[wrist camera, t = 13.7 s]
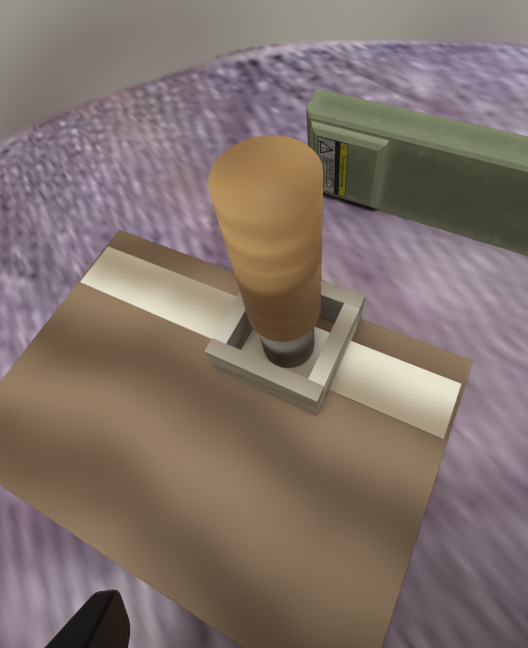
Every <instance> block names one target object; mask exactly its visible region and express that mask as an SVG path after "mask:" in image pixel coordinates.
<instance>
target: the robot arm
mask: <svg viewBox="0 0 528 648" xmlns="http://www.w3.org/2000/svg"><path fill="white" fill-rule="evenodd" d="M129 638H130V622H129V618H128V615H127V612H126V609H125V606H124V603H123V600H122V597H121V595H120V593H119V592H118V591H117V590H107V591H99V592H96V593H95V594H93V595H92V596H91V597H90V598H89V599H88V600H87V602H86V603H85V604H84V605H83V606H82V607H81V608H80V609H79V610H78V611H77V613H76V614H75V615H74V616H73V617H72V618H71V619H70V620H69V621H68V622H67V624H66V625H65V626H64V627H63V628H62V629H61V630H60V631H59V632H58V634H57V635H56V636H55V637H54V638H53V639H52V640H51V641H50V642H49V643H48V645H47V646H46V647H45V648H128V644H129Z"/></svg>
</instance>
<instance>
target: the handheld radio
mask: <svg viewBox="0 0 528 648" xmlns="http://www.w3.org/2000/svg"><path fill="white" fill-rule="evenodd" d="M306 112H307V134H308V146H309V147H310V148H311V149H312V150H314V152H315V153H316V154H317V155H318V157H319V159H320V160H321V163H322V166H323V193H325V194H328V195H332V196H335V197H338V198H341V199H345V200H348V201H351V202H355V203H358V204H361V205H364V206H368V207H371V208H374V209H377V210H381V211H384V212H387V213H390V214H394V215H397V216H400V217H403V218H407V219H410V220H413V221H417V222H420V223H423V224H426V225H430V226H433V227H436V228H439V229H443V230H446V231H449V232H452V233H456V234H459V235H462V236H465V237H469V238H472V239H475V240H478V241H482V242H485V243H488V244H492V245H495V246H498V247H501V248H505V249H508V250H511V251H514V252H518V253H521V254H524V255H527V256H528V137H527V136H523V135H518V134H514V133H510V132H505V131H501V130H496V129H492V128H488V127H483V126H479V125H474V124H470V123H466V122H461V121H457V120H452V119H448V118H444V117H439V116H435V115H430V114H426V113H422V112H417V111H413V110H408V109H404V108H400V107H395V106H391V105H386V104H382V103H378V102H373V101H369V100H364V99H360V98H356V97H351V96H347V95H342V94H338V93H334V92H329V91H325V90H317V91H316V93H315V94H314V96H313V98H312V99H311V101H310V103H309V104H308V106H307V110H306Z"/></svg>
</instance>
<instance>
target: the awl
mask: <svg viewBox="0 0 528 648" xmlns="http://www.w3.org/2000/svg"><path fill="white" fill-rule="evenodd" d="M208 186H209V191H210V195H211V198H212V201H213V205H214V208H215V211H216V214H217V218H218V221H219V224H220V228H221V231H222V234H223V237H224V241H225V244H226V247H227V251H228V254H229V257H230V260H231V264H232V267H233V270H234V274H235V277H236V280H237V284H238V287H239V290H240V293H241V297H242V300H243V303H244V307H245V310H246V313H247V316H248V320H249V322H250V324H251V326H252V327H253V329H254V330H255V331H256V332H257V333H258V334H259V335H260V339H261V343H262V346H263V350H264V353H265V355H266V357H267V358H268V360H269V361H270V362H271V363H273V364H274V365H276V366H279V367H282V368H294V367H298V366H300V365H302V364H304V363H305V362H306V361H307V360H308V359H309V358H310V357H311V355H312V353H313V350H314V326H315V325H316V323H317V321H318V319H319V316H320V311H321V264H322V213H323V166H322V163H321V160H320V159H319V157H318V155H317V154H316V153H315V152H314V150H312V149H311V148H310V147H309V146H307V145H306V144H304V143H302V142H300V141H298V140H296V139H293V138H289V137H284V136H260V137H255V138H251V139H248V140H245V141H242V142H240V143H238V144H236V145H234V146H232V147H231V148H229V149H228V150H226V151H225V152H224V153H223V154H222V155H221V156H220V157H219V158H218V159H217V160H216V162H215V163H214V165H213V167H212V169H211V171H210V174H209V179H208Z"/></svg>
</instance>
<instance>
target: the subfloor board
mask: <svg viewBox="0 0 528 648" xmlns="http://www.w3.org/2000/svg"><path fill="white" fill-rule="evenodd" d="M364 301H365V295H362V294H359V293H356V292H353V291H350V290H348V289H345V288H342V287H339V286H336V285H333V284H331V283H328V282H325V281H322V280H321V311H320V316H319V319H318V321H317V323H316V325H315V326H314V350H313V353H312V355H311V357H310V358H309V359H308V360H307V361H306V362H305V363H304V364H302V365H300V366H298V367H294V368H282V367H279V366H276V365H274V364H273V363H271V362H270V361H269V360H268V358H267V357H266V355H265V353H264V350H263V346H262V343H261V339H260V335H259V334H258V333H257V332H256V331H255V330H254V329H253V327H252V326H251V324H250V322H249V320H248V316H247V313H246V310H245V307H244V303H243V300H242V297H241V293H240V290H239V287H238V284H237V280H236V277H235V274H234V272H232V271H230V270H227V269H224V268H222V267H219V266H216V265H213V264H211V263H208V262H205V261H203V260H200V259H197V258H195V257H192V256H189V255H186V254H184V253H181V252H178V251H176V250H173V249H170V248H168V247H165V246H162V245H159V244H157V243H154V242H151V241H149V240H146V239H143V238H141V237H138V236H135V235H132V234H130V233H127V232H124V231H122V230H119V231H118V232H117V233H116V235H115V236H114V237H113V239H112V240H111V241H110V242H109V244H108V245H107V246H106V247H105V249H104V250H103V251H102V253H101V254H100V255H99V256H98V258H97V259H96V260H95V261H94V263H93V264H92V265H91V267H90V268H89V269H88V270H87V272H86V273H85V274H84V276H83V277H82V278H81V279H80V281H79V282H78V283H77V284H76V286H75V287H74V288H73V290H72V291H71V292H70V293H69V295H68V296H67V297H66V298H65V300H64V301H63V302H62V304H61V305H60V306H59V307H58V309H57V310H56V311H55V313H54V314H53V315H52V316H51V318H50V319H49V320H48V321H47V323H46V324H45V325H44V327H43V328H42V329H41V330H40V332H39V333H38V334H37V335H36V337H35V338H34V339H33V341H32V342H31V343H30V344H29V346H28V347H27V348H26V350H25V351H24V352H23V353H22V355H21V356H20V357H19V358H18V360H17V361H16V362H15V364H14V365H13V366H12V367H11V369H10V370H9V371H8V372H7V374H6V375H5V376H4V378H3V379H2V380H1V381H0V486H2V487H3V488H5V489H6V490H8V491H9V492H11V493H12V494H14V495H15V496H17V497H18V498H20V499H21V500H23V501H24V502H26V503H27V504H29V505H30V506H32V507H33V508H35V509H36V510H38V511H39V512H41V513H42V514H44V515H45V516H47V517H48V518H50V519H51V520H53V521H54V522H56V523H57V524H59V525H60V526H62V527H63V528H65V529H66V530H68V531H69V532H71V533H72V534H74V535H75V536H77V537H78V538H80V539H81V540H83V541H84V542H86V543H87V544H89V545H90V546H92V547H93V548H95V549H96V550H98V551H99V552H101V553H102V554H104V555H105V556H107V557H108V558H109V559H111V560H112V561H114V562H115V563H117V564H118V565H120V566H121V567H123V568H124V569H126V570H127V571H129V572H130V573H132V574H133V575H135V576H136V577H138V578H139V579H141V580H142V581H144V582H145V583H147V584H148V585H150V586H151V587H153V588H154V589H156V590H157V591H159V592H160V593H162V594H163V595H165V596H166V597H168V598H169V599H171V600H172V601H174V602H175V603H177V604H178V605H180V606H181V607H183V608H184V609H186V610H187V611H189V612H190V613H192V614H193V615H195V616H196V617H198V618H199V619H201V620H202V621H204V622H205V623H207V624H208V625H210V626H211V627H213V628H214V629H216V630H217V631H219V632H220V633H222V634H223V635H225V636H226V637H228V638H229V639H231V640H232V641H234V642H235V643H236V644H238V645H239V646H241V647H242V648H382V645H383V642H384V639H385V636H386V632H387V629H388V626H389V623H390V620H391V617H392V614H393V610H394V607H395V604H396V601H397V598H398V595H399V592H400V588H401V585H402V582H403V579H404V576H405V573H406V570H407V566H408V563H409V560H410V557H411V554H412V551H413V548H414V544H415V541H416V538H417V535H418V532H419V529H420V526H421V522H422V519H423V516H424V513H425V510H426V507H427V504H428V500H429V497H430V494H431V491H432V488H433V485H434V482H435V478H436V475H437V472H438V469H439V466H440V463H441V460H442V456H443V453H444V450H445V447H446V444H447V441H448V437H449V434H450V431H451V428H452V425H453V422H454V419H455V415H456V412H457V409H458V406H459V403H460V400H461V397H462V393H463V390H464V387H465V384H466V381H467V378H468V375H469V371H470V368H471V365H472V362H473V360H470V359H467V358H465V357H462V356H459V355H456V354H454V353H451V352H448V351H446V350H443V349H440V348H438V347H435V346H432V345H429V344H427V343H424V342H421V341H419V340H416V339H413V338H411V337H408V336H405V335H402V334H400V333H397V332H394V331H392V330H389V329H386V328H384V327H381V326H378V325H375V324H373V323H370V322H367V321H365V320H362V319H361V316H362V311H363V306H364Z"/></svg>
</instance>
